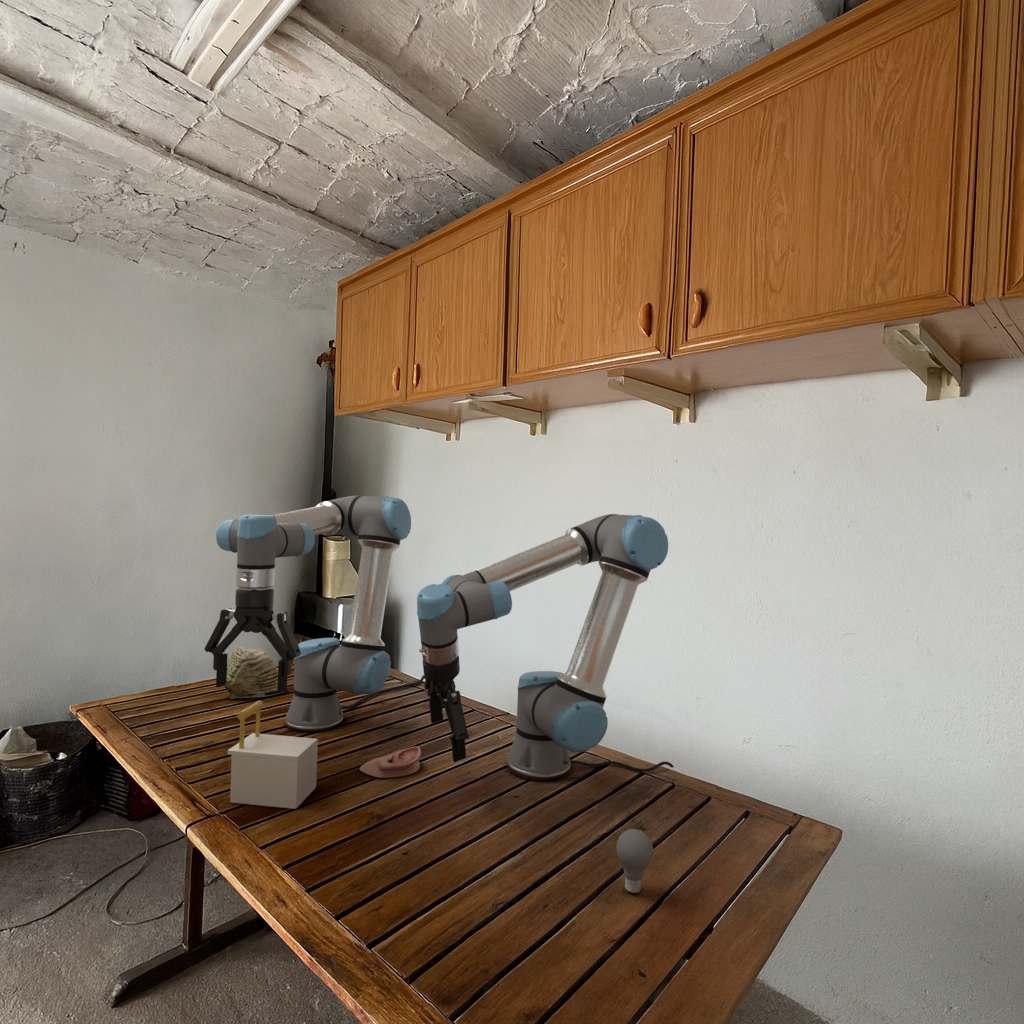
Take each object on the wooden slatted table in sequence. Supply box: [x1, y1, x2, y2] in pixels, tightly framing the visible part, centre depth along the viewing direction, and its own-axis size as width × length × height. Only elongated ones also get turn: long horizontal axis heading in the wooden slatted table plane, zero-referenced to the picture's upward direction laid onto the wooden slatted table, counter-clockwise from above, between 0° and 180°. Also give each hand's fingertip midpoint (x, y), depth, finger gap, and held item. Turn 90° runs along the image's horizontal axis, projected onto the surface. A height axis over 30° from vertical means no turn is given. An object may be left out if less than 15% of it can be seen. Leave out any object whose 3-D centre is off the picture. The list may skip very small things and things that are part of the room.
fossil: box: [223, 646, 287, 699], centre depth 198 cm, size 9×18×15 cm, turn 132°
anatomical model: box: [359, 746, 422, 779], centre depth 149 cm, size 13×4×12 cm
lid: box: [227, 700, 319, 761], centre depth 134 cm, size 15×10×9 cm, turn 84°
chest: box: [229, 742, 319, 810], centre depth 134 cm, size 14×10×10 cm
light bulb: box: [615, 828, 654, 894], centre depth 106 cm, size 6×6×10 cm
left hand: (251, 687), depth 134 cm, fingers open, 13 cm apart
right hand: (447, 739), depth 138 cm, fingers open, 13 cm apart
